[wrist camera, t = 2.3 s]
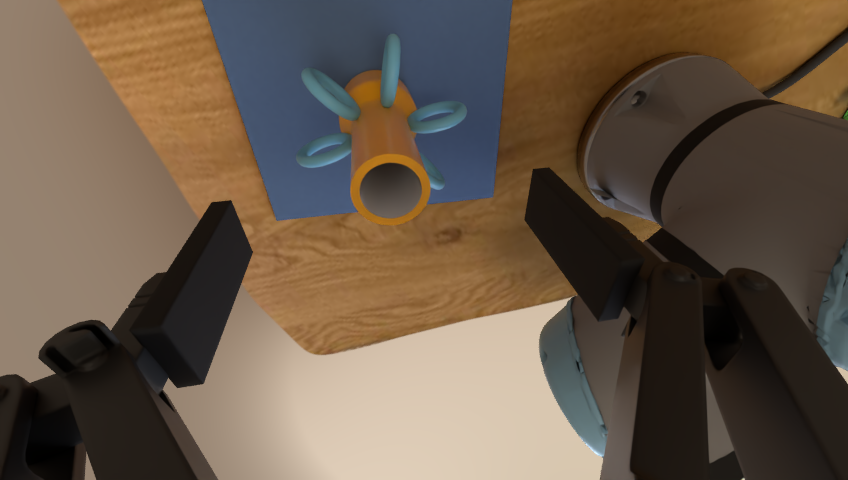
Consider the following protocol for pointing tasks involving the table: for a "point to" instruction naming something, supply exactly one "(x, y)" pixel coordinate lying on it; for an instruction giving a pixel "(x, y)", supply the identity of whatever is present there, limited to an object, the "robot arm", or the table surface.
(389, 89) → the cylinder
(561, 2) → the table surface
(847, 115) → the geometric puzzle
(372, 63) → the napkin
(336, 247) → the table surface
